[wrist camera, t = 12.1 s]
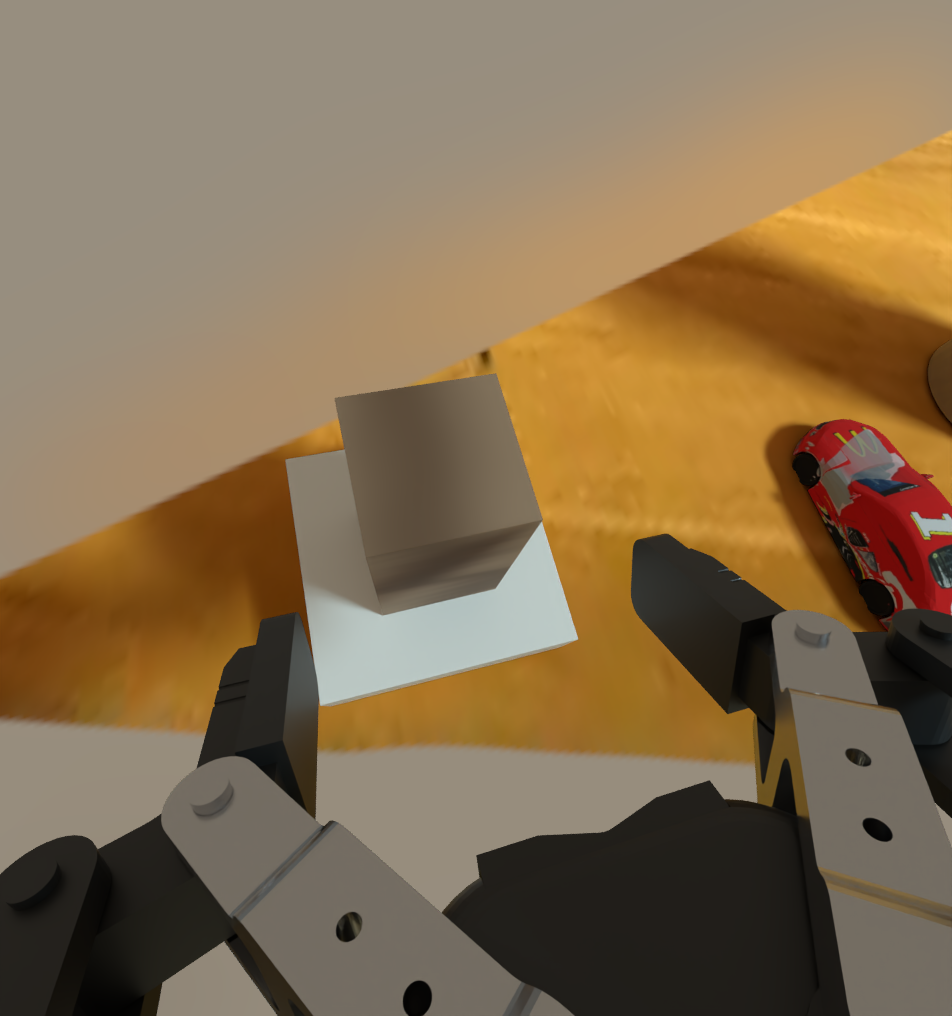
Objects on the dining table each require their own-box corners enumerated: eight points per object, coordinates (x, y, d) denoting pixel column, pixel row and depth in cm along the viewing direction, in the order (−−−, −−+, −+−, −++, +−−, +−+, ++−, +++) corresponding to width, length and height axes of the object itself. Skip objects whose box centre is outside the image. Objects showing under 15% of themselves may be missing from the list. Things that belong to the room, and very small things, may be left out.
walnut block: (467, 487, 25) (496, 373, 16) (495, 588, 23) (542, 520, 15) (361, 508, 24) (334, 398, 15) (383, 615, 22) (365, 557, 14)
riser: (501, 449, 29) (510, 422, 26) (560, 647, 25) (578, 639, 23) (298, 485, 27) (285, 459, 24) (331, 706, 23) (320, 705, 21)
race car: (771, 441, 32) (818, 405, 28) (845, 426, 33) (899, 389, 29) (882, 658, 27) (955, 649, 24) (962, 632, 29) (1044, 620, 25)
